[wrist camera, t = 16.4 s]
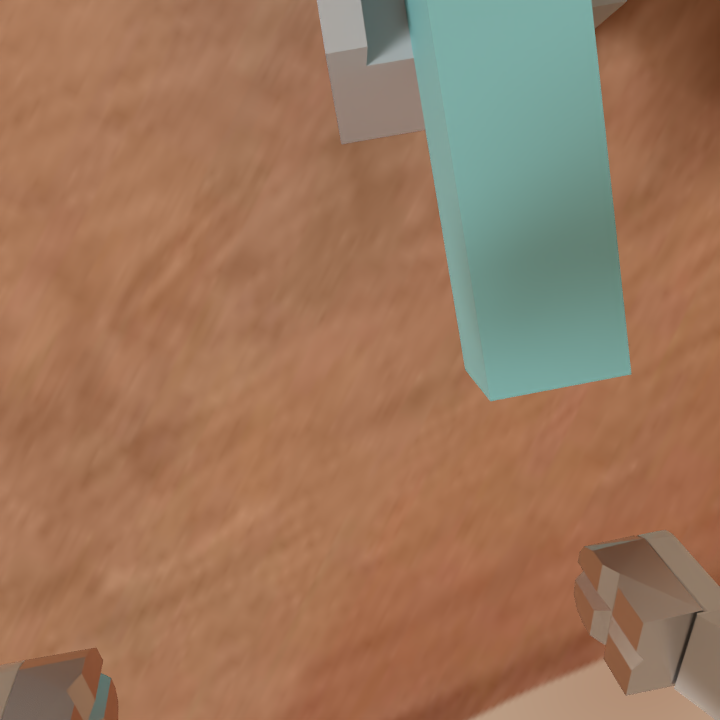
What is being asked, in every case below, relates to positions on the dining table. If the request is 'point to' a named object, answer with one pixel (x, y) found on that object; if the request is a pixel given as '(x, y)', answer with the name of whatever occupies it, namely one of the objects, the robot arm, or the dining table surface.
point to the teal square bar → (522, 189)
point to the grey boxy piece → (381, 65)
